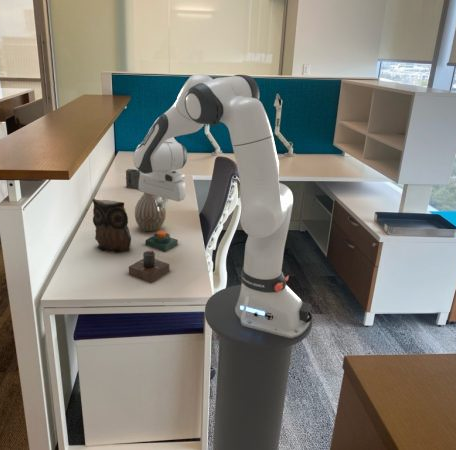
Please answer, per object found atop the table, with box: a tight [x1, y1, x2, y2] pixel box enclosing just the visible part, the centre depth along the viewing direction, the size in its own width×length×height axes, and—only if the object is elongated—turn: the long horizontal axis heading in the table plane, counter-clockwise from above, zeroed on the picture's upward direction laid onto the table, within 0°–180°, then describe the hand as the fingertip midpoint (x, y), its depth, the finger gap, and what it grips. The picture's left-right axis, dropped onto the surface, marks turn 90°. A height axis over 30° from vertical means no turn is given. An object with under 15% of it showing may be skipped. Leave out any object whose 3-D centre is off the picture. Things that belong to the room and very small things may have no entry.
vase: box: [134, 192, 167, 232], centre depth 189 cm, size 13×13×18 cm
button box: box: [145, 232, 179, 252], centre depth 177 cm, size 10×8×4 cm
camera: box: [125, 168, 140, 190], centre depth 243 cm, size 16×4×10 cm, turn 77°
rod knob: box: [142, 250, 156, 268], centre depth 153 cm, size 4×4×5 cm
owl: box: [92, 198, 132, 254], centre depth 169 cm, size 13×13×20 cm
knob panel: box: [128, 258, 170, 283], centre depth 155 cm, size 10×10×3 cm
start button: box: [156, 230, 167, 238], centre depth 176 cm, size 4×4×2 cm
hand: (161, 207), depth 171 cm, fingers closed
